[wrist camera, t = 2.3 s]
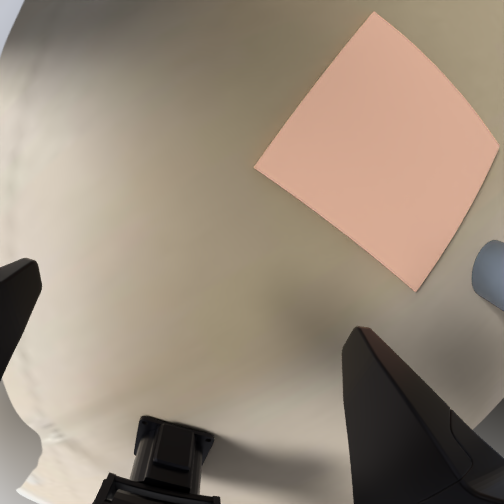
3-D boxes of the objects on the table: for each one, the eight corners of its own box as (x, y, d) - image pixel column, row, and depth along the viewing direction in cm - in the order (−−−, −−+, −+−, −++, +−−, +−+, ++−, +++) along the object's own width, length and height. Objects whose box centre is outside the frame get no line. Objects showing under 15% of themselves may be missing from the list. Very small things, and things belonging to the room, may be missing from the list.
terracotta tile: (412, 289, 20) (415, 292, 19) (253, 167, 17) (253, 167, 16) (495, 145, 17) (499, 145, 16) (371, 14, 14) (374, 11, 14)
